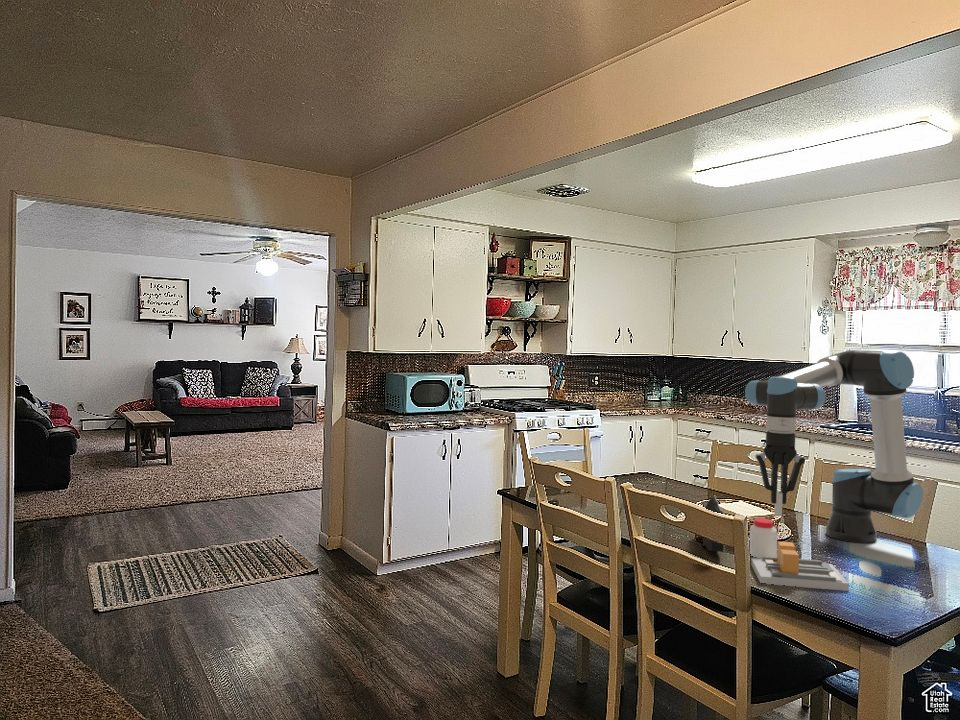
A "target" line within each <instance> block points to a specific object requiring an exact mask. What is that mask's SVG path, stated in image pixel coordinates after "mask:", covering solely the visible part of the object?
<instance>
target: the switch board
mask: <svg viewBox="0 0 960 720" xmlns="http://www.w3.org/2000/svg"><path fill="white" fill-rule="evenodd" d="M750 565H751V567H752V569H753V571H754V573H755V575H756V577H757V579H758V581H759V583H760V584H761V583H766V584H765V585H771V584H774V586H783V585H785V586H784V587H795V586H796V587H797V588H798V587H799V588H808V589H822V590H830V591H831V590H832V591H833V590H834V591H842V592H843V591H846V592H849V590H850V587H849V586H850V583H849V582H848V581H847V580H846V579H845V578H844V577H845V576H843V575H842V574H841V573H840V572H839V571H838V569H837V568H836V567H835V566H834V564H832V563H828V562H824V561H822V560H819V559H817V560H816V559H807V558H806V559H805V558H804V559H803V558H799V574H792V573H781V572H780V563H778V562H777V557H767V556H762V559H759V558H755V557H751V559H750ZM796 587H795V588H796Z"/></svg>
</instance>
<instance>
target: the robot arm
mask: <svg viewBox="0 0 960 720" xmlns="http://www.w3.org/2000/svg"><path fill="white" fill-rule="evenodd" d="M914 376H915V369H914V365H913V362H912V360H911V358H910V357H909V355H907V354H906V353H905V352H904V351H900V350H890V349H851V350H845V351H841V352H838V353H835V354H832V355H829V356H824V357H821V358H820V359H819V360H818V361H817V362H816V363H815V364H812V365H808V366H806V367H803V368H800V369H796V370H794V371H791V372H788V373H784V374H783V375H779V376H770V377H769V378H768V379H766V380H760V379H757V380H750V381H748V383H747V384H746V386H745V389H744V393H745V399H746V401H747V402H748V403H749V404H751V405H757V406H758V407H759V406H761V407H762V406H764V407H766V408H767V410H766V425H765V427H766V428H765V429H766V430H767V431H766V432H765V447H764V449H763V451H762V452H761V453H759V454H758V453H757V454H755V455H754V457H755V459H756V460H757V462H758V465H759V468H760V469H759V470H760V473H761V478H762V482H763V486H764V488H765V489H766V490H767V491H770V502H771V504H774V510H773V514H774V515H775V516H776V517H783V505H786V503H787V493H788V492H793V491H795V487H796V484H797V480H798V478H799V474H800V471H801V467H802V465H803V464H804V463H805V462H806V459H805V458H804V457H803V456H800V455H799V454H797V453H798V452H797V450H796V434H795V431H796V423H797V421H796V420H797V419H796V418H797V417H796V416H797V411H799V410H802V411H803V410H805V411H807V410H809V411H812V410H818V409H820V408H821V407H823V406H824V404H825V402H826V398H827V397H826V391H825V390H824V388H823V387H826V386H827V387H834V386H838V385H850V386H852V385H853V386H858V387H859V386H861V387H863V394H864V395H865V396H866V397H868V398H869V405H870V416H871V427H872V428H871V429H872V430H871V431H872V440H873V449H874V450H873V451H874V452H873V453H874V462H875V463H874V464H875V470H871V469H868V468H842V469H836V470H835V471H834V472H833V475H832V482H831V483H832V492H831V493H832V498H831V499H832V503H831V504H832V509H831V514H830V515H829V519H828V522H827V524H826V526H825V534H826V535H827V536H828V537H830V538H832V537H833V538H832V539H836V540H840V541H843V542H844V541H845V542H848V543H849V542H850V543H851V542H852V543H859V544H868V543H873V542H876V541H877V536H878V535H877V534H878V533H877V530H876V527H875V524H874V520H873V518H872V512H875V513H879V514H884V515H887V516H892V517H894V518H903V519H909V518H912V517H914V516H915V515H916V514H917V513H918V511H919V510H920V509H921V506H922V503H923V500H924V489H923V487H922V485H921V484H920V483H917V482H916V481H914V473H912V472H911V471H910V470H908V466H907V465H908V463H907V454H906V453H907V452H906V443H905V442H906V440H905V439H906V438H905V429H904V426H905V425H904V415H903V413H904V412H903V403H902V397H903V396H904V395H905V394H906V393H907V392H908V391H907V389H908V388H909V387H911V386H912V384H913V382H914ZM766 458H767V459H768V460H769V462H770V466H771V472H770V474H771V475H770V479H769V474H768V471H767V466H766V462H765V461H766ZM792 461H794V464H793V468H792V471H791V473H790V478H789V480H788V477H789V476H788V471H789V470H788V469H789V464H790V463H791V462H792ZM779 465H780V490H778V480H779V479H778V477H779V476H778V475H779V473H778V472H779Z"/></svg>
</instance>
